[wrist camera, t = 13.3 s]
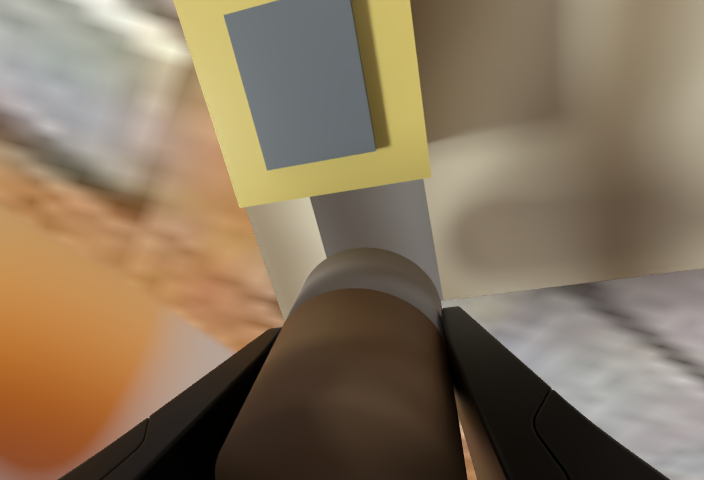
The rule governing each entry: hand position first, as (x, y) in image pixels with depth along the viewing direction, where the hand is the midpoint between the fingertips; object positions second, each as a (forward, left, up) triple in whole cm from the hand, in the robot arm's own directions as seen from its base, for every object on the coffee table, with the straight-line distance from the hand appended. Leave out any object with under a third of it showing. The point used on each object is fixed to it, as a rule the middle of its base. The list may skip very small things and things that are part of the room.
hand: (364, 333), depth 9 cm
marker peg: (0, 0, -1) cm, 1 cm away
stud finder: (0, -7, -5) cm, 9 cm away
